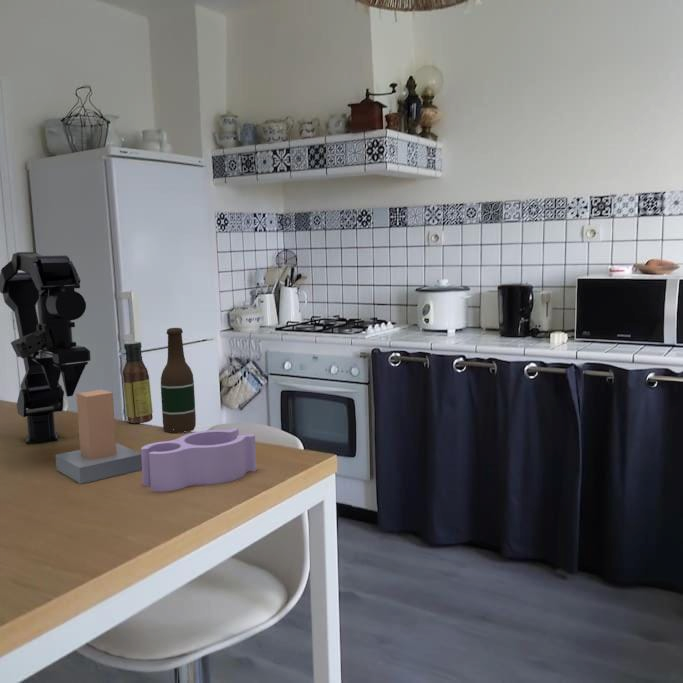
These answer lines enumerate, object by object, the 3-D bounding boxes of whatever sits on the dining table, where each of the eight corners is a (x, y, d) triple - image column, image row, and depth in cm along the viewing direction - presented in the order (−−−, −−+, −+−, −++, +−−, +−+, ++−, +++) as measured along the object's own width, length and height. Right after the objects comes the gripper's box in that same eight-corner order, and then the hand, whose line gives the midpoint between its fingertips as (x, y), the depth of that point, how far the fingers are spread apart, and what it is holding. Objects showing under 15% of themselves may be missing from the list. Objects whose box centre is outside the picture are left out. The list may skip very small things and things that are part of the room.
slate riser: (56, 469, 133) (55, 454, 133) (116, 456, 141) (115, 442, 141) (80, 484, 124) (79, 467, 124) (142, 469, 132) (141, 454, 132)
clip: (161, 498, 116) (158, 458, 115) (134, 480, 126) (132, 443, 125) (264, 474, 128) (262, 437, 127) (232, 459, 138) (230, 425, 137)
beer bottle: (167, 435, 157) (161, 330, 154) (159, 428, 164) (153, 328, 161) (200, 430, 161) (195, 328, 158) (191, 423, 168) (186, 325, 165)
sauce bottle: (156, 418, 174) (152, 340, 172) (147, 424, 168) (142, 343, 166) (131, 418, 175) (126, 340, 173) (121, 424, 169) (116, 344, 167)
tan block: (80, 454, 133) (76, 393, 131) (105, 449, 136) (101, 389, 134) (91, 459, 129) (86, 396, 127) (116, 454, 132) (112, 392, 131)
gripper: (-1, 318, 142) (5, 393, 143) (29, 323, 128) (36, 406, 130) (54, 314, 149) (60, 385, 151) (88, 318, 135) (94, 397, 137)
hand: (61, 393), depth 142 cm, fingers open, 9 cm apart
